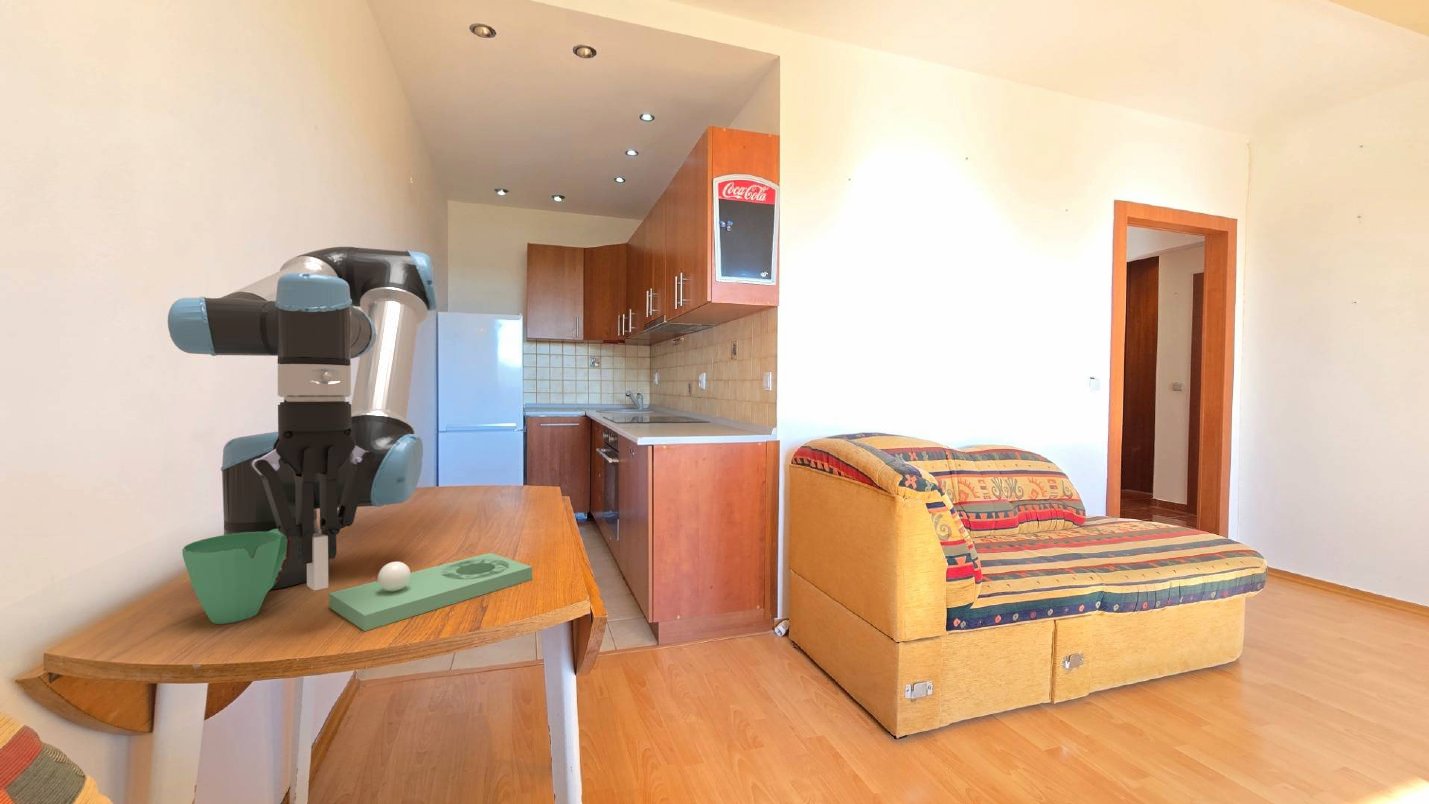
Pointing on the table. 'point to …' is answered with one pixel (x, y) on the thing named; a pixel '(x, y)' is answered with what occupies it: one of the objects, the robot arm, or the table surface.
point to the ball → (394, 576)
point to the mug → (235, 572)
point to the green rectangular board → (428, 590)
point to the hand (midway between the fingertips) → (317, 586)
